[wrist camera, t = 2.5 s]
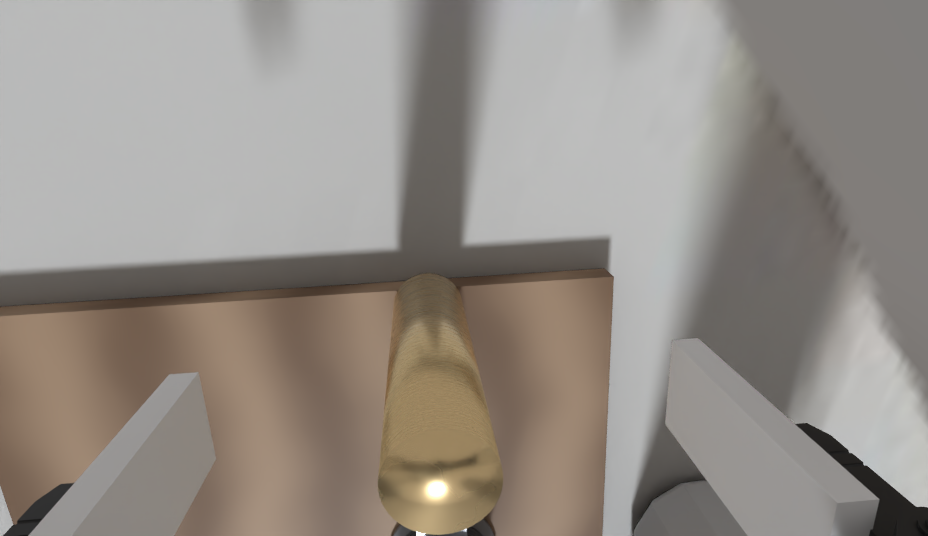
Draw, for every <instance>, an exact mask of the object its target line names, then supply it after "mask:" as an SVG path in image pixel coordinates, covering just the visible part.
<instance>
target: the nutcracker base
mask: <svg viewBox="0 0 928 536" xmlns="http://www.w3.org/2000/svg"><path fill="white" fill-rule="evenodd" d="M447 279H448V280H450V281H451V282H452V283H453V284H454V285H455V286H456V287H457V289H458V291H459V293H460V295H461V299H462V303H463V307H464V312H465V316H466V320H467V324H468V328H469V332H470V337H471V341H472V345H473V349H474V353H475V357H476V362H477V366H478V370H479V374H480V378H481V383H482V387H483V391H484V395H485V399H486V403H487V408H488V412H489V416H490V420H491V424H492V428H493V433H494V437H495V441H496V445H497V449H498V454H499V458H500V462H501V466H502V470H503V487H502V492H501V494H500V497H499V499H498V501H497V503H496V505H495V506H494V507H493V509H492V510H491V511H490V512H489V513H488V515H487V516H485V517H484V518H483V519H482V520H481V521H479V522H478V523H476V524H475V525H473V526H474V527H475V528H476V529H477V530H479V531H480V533H481V534H482V535H483V536H602V528H603V505H604V483H605V460H606V438H607V415H608V392H609V370H610V347H611V325H612V302H613V280H614V277H613V276H612V275H611V274H610V273H609V272H608V271H607V270H606V269H605V268H603V269H587V270H572V271H556V272H540V273H524V274H509V275H493V276H477V277H461V278H447ZM404 282H405V281H398V282H382V283H367V284H351V285H335V286H319V287H304V288H288V289H272V290H256V291H241V292H225V293H209V294H193V295H178V296H162V297H146V298H130V299H115V300H99V301H83V302H67V303H51V304H36V305H20V306H4V307H0V486H1V489H2V492H3V495H4V498H5V501H6V504H7V507H8V510H9V513H10V515H11V518H12V521H13V524H14V525H15V524H17V520H18V519H19V518H20V517H21V516H22V515H23V514H24V513H25V512H26V511H27V510H28V509H29V507H30V506H31V505H32V504H33V503H34V502H35V501H36V500H38V499H39V498H41V497H42V496H44V495H45V494H47V493H48V492H50V491H51V490H53V489H54V488H55V487H57V486H58V485H60V484H66V483H75V482H76V481H77V479H78V478H79V477H80V476H81V475H82V474H83V473H84V471H85V470H86V469H87V468H88V467H89V466H90V465H91V463H92V462H93V461H94V460H95V459H96V458H97V457H98V455H99V454H100V453H101V452H102V451H103V450H104V449H105V447H106V446H107V445H108V444H109V443H110V442H111V441H112V439H113V438H114V437H115V436H116V435H117V434H118V432H119V431H120V430H121V429H122V428H123V427H124V426H125V424H126V423H127V422H128V421H129V420H130V419H131V418H132V416H133V415H134V414H135V413H136V412H137V411H138V410H139V408H140V407H141V406H142V405H143V404H144V403H145V402H146V400H147V399H148V398H149V397H150V396H151V395H152V394H153V392H154V391H155V390H156V389H157V388H158V387H159V386H160V384H161V383H162V382H163V381H164V380H165V379H166V378H167V376H168V375H169V374H181V373H196V372H199V377H200V382H201V387H202V392H203V397H204V402H205V407H206V412H207V417H208V421H209V426H210V431H211V436H212V441H213V446H214V451H215V456H216V460H215V462H214V464H213V466H212V467H211V469H210V471H209V473H208V475H207V476H206V478H205V480H204V482H203V484H202V486H201V487H200V489H199V491H198V493H197V495H196V497H195V498H194V500H193V502H192V504H191V506H190V508H189V509H188V511H187V513H186V515H185V517H184V518H183V520H182V522H181V524H180V526H179V528H178V529H177V531H176V533H175V535H174V536H407V535H408V533H410V532H411V531H412V530H410V529H408V528H406V527H404V526H402V525H401V524H399V523H398V522H397V521H395V520H394V519H393V518H392V517H391V516H390V515H389V514H388V512H387V511H386V510H385V508H384V506H383V505H382V503H381V500H380V497H379V492H378V474H379V462H380V451H381V440H382V429H383V417H384V406H385V395H386V384H387V372H388V361H389V350H390V338H391V327H392V316H393V305H394V298H395V295H396V293H397V291H398V289H399V288H400V286H401V285H402V284H403V283H404Z"/></svg>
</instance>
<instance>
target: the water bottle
mask: <svg viewBox="0 0 928 536" xmlns="http://www.w3.org/2000/svg"><path fill="white" fill-rule="evenodd" d="M634 536H747V534H746V533H745V532H744V530H743V529H742V528H741V526H740V525H739V524H738V522H737V521H736V520H735V518H734V517H733V515H732V514H731V513H730V511H729V510H728V509H727V507H726V506H725V505H724V503H723V502H722V501H721V499H720V498H719V496H718V495H717V494H716V492H715V491H714V490H713V488H712V487H711V486H710V484H709V483H708V482H707V480H702V481H694V482H687V483H680V484H678V485H677V486H675V487H673V488H672V489H670V490H669V491H667V492H665V493H664V494H662V495H660V496H659V497H657V498H656V499H654V500H653V501H652V502H651V504H650V505H649V507H648V508H647V510H646V511H645V513H644V514H643V516H642V518H641V519H640V521H639V522H638V524H637V526H636V528H635V530H634Z"/></svg>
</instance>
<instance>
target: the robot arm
mask: <svg viewBox="0 0 928 536" xmlns="http://www.w3.org/2000/svg"><path fill="white" fill-rule="evenodd" d="M665 425H666V426H667V427H668V429H669V430H670V431H671V433H672V434H673V435H674V437H675V438H676V440H677V441H678V442H679V444H680V445H681V446H682V448H683V449H684V450H685V452H686V453H687V454H688V456H689V457H690V459H691V460H692V461H693V463H694V464H695V465H696V467H697V468H698V469H699V471H700V472H701V473H702V475H703V476H704V477H705V479H706V480H707V482H708V483H709V484H710V486H711V487H712V488H713V490H714V491H715V492H716V494H717V495H718V496H719V498H720V499H721V501H722V502H723V503H724V505H725V506H726V507H727V509H728V510H729V511H730V513H731V514H732V515H733V517H734V518H735V520H736V521H737V522H738V524H739V525H740V526H741V528H742V529H743V530H744V532H745V533H746V534H747V536H928V508H927V507H915V506H914V505H913V504H912V503H911V502H909V501H908V500H907V499H906V498H905V497H904V496H902V495H901V494H900V493H899V492H898V491H896V490H895V489H894V488H893V487H892V486H890V485H889V484H888V483H887V482H886V481H884V480H883V479H882V478H881V477H880V476H878V475H877V474H876V473H875V472H874V471H873V470H871V469H870V468H869V467H868V466H864V465H863V462H862V461H861V460H859V459H858V458H857V457H856V456H855V455H853V454H852V453H849V452H848V449H846V448H845V447H844V446H843V445H842V444H840V443H839V442H838V441H837V440H836V439H834V438H833V437H832V436H831V435H829V434H827V433H825V432H823V431H821V430H819V429H817V428H815V427H813V426H811V425H809V424H808V423H803V424H794V423H793V422H792V421H791V420H790V419H789V418H787V417H786V416H785V415H784V414H783V413H782V412H781V411H780V410H778V409H777V408H776V407H775V406H774V405H773V404H772V403H771V402H769V401H768V400H767V399H766V398H765V397H764V396H763V395H762V394H760V393H759V392H758V391H757V390H756V389H755V388H754V387H753V386H751V385H750V384H749V383H748V382H747V381H746V380H745V379H744V378H742V377H741V376H740V375H739V374H738V373H737V372H736V371H735V370H733V369H732V368H731V367H730V366H729V365H728V364H727V363H726V362H724V361H723V360H722V359H721V358H720V357H719V356H718V355H717V354H715V353H714V352H713V351H712V350H711V349H710V348H709V347H708V346H706V345H705V344H704V343H703V342H702V341H701V340H700V339H699V338H692V339H677V340H672V346H671V358H670V370H669V382H668V394H667V406H666V418H665ZM215 460H216V456H215V451H214V446H213V441H212V436H211V431H210V426H209V421H208V417H207V412H206V407H205V402H204V397H203V392H202V387H201V382H200V377H199V372H196V373H181V374H169V375H168V376H167V378H166V379H165V380H164V381H163V382H162V383H161V384H160V386H159V387H158V388H157V389H156V390H155V391H154V392H153V394H152V395H151V396H150V397H149V398H148V399H147V400H146V402H145V403H144V404H143V405H142V406H141V407H140V408H139V410H138V411H137V412H136V413H135V414H134V415H133V416H132V418H131V419H130V420H129V421H128V422H127V423H126V424H125V426H124V427H123V428H122V429H121V430H120V431H119V432H118V434H117V435H116V436H115V437H114V438H113V439H112V441H111V442H110V443H109V444H108V445H107V446H106V447H105V449H104V450H103V451H102V452H101V453H100V454H99V455H98V457H97V458H96V459H95V460H94V461H93V462H92V463H91V465H90V466H89V467H88V468H87V469H86V470H85V471H84V473H83V474H82V475H81V476H80V477H79V478H78V479H77V481H76V482H75V483H66V484H60V485H58V486H57V487H55V488H54V489H53V490H51V491H50V492H48V493H47V494H45V495H44V496H42V497H41V498H39V499H38V500H36V501H35V502H34V503H33V504H32V505H31V506H30V507H29V509H28V510H27V511H26V512H25V513H24V514H23V515H22V516H21V517H20V518H19V519H18V520H17V524H15V525H13V526H12V527H11V528H10V529H9V530H8V531H7V532H6V533H5V534H4V535H3V536H174V535H175V533H176V531H177V529H178V528H179V526H180V524H181V522H182V520H183V518H184V517H185V515H186V513H187V511H188V509H189V508H190V506H191V504H192V502H193V500H194V498H195V497H196V495H197V493H198V491H199V489H200V487H201V486H202V484H203V482H204V480H205V478H206V476H207V475H208V473H209V471H210V469H211V467H212V466H213V464H214V462H215Z"/></svg>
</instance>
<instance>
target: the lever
mask: <svg viewBox="0 0 928 536" xmlns="http://www.w3.org/2000/svg"><path fill="white" fill-rule="evenodd" d="M502 487H503V470H502V466H501V462H500V458H499V454H498V449H497V445H496V441H495V437H494V433H493V428H492V424H491V420H490V416H489V412H488V408H487V403H486V399H485V395H484V391H483V387H482V383H481V378H480V374H479V370H478V366H477V362H476V357H475V353H474V349H473V345H472V341H471V337H470V332H469V328H468V324H467V320H466V316H465V312H464V307H463V303H462V299H461V295H460V293H459V291H458V289H457V287H456V286H455V285H454V284H453V283H452V282H451V281H450V280H448V279H447V278H445V277H443V276H441V275H437V274H431V273H425V274H419V275H416V276H413V277H411V278H410V279H408V280H407V281H405V282H404V283H403V284H402V285H401V286H400V288H399V289H398V291H397V293H396V295H395V298H394V305H393V316H392V327H391V338H390V350H389V361H388V372H387V384H386V395H385V406H384V417H383V429H382V440H381V451H380V462H379V474H378V492H379V497H380V500H381V503H382V505H383V506H384V508H385V510H386V511H387V512H388V514H389V515H390V516H391V517H392V518H393V519H394V520H395V521H397V522H398V523H399V524H401V525H402V526H404V527H406V528H408V529H410V530H412V531H411V532H410V533H408V535H407V536H483V535H482V534H481V533H480V531H479V530H477V529H476V528H475V527H474V526H473V525H475V524H476V523H478V522H479V521H481V520H482V519H483V518H484V517H485V516H487V515H488V513H489V512H490V511H491V510H492V509H493V507H494V506H495V505H496V503H497V501H498V499H499V497H500V494H501V492H502Z"/></svg>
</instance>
